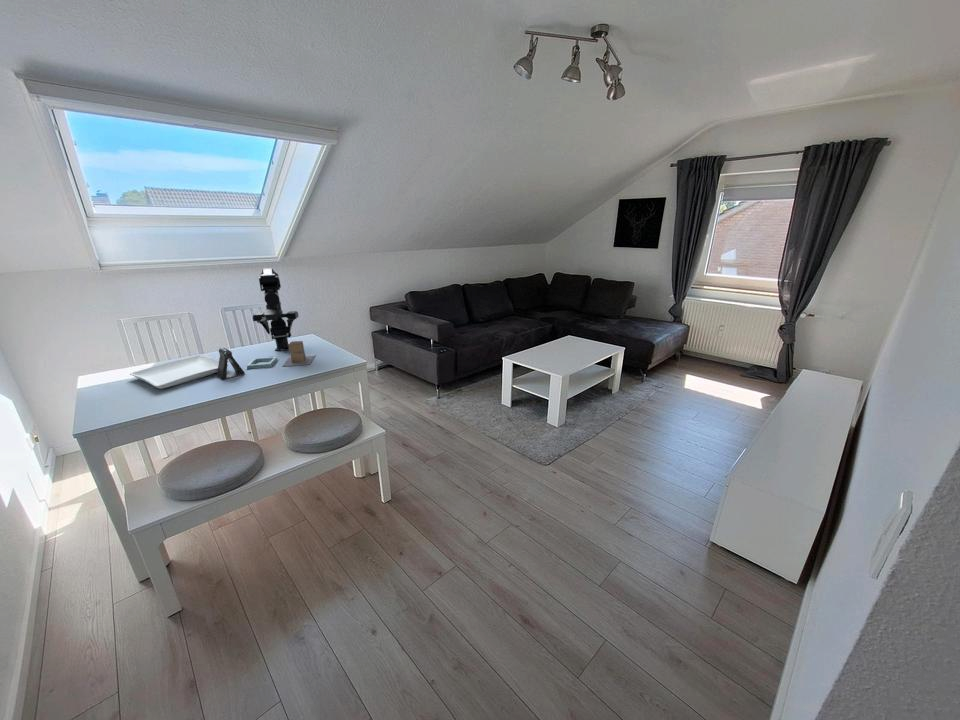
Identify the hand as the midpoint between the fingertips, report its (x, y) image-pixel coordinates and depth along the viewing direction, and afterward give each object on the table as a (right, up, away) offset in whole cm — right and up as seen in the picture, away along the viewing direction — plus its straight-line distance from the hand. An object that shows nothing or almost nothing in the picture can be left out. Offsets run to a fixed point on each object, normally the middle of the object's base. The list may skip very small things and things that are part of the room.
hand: (279, 333), depth 179 cm
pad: (+11, -14, -2) cm, 17 cm away
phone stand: (-11, -20, -18) cm, 29 cm away
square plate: (-33, -20, -17) cm, 42 cm away
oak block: (+11, -13, -2) cm, 17 cm away
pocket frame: (-5, -15, -5) cm, 17 cm away
